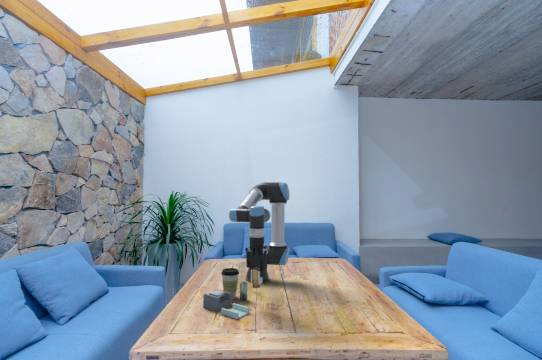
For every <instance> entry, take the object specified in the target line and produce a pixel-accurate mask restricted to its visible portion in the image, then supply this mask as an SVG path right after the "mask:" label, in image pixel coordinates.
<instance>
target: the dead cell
mask: <svg viewBox="0 0 542 360" xmlns="http://www.w3.org/2000/svg"><path fill="white" fill-rule="evenodd" d="M239 301H240V302H247V301H248V281H247V282H246V281H242V282H239Z"/></svg>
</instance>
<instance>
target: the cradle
mask: <svg viewBox="0 0 542 360" xmlns="http://www.w3.org/2000/svg"><path fill="white" fill-rule="evenodd" d="M216 290H220V291H223V289H222V290H221V289H218V288H216V289H215V291H216ZM224 292H226V291H224ZM202 302H203V303H202V304H203V306H202V307H203V308H205V309H207V310H211V311H215V312H217V313H218V312H220V311H221V309H222V308H225V309H228V308H229V307H231V306H232V299H231V293H230V292H226V295H225V296H222V297H216V296H213V295H209V293H203V301H202Z"/></svg>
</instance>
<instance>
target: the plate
mask: <svg viewBox="0 0 542 360" xmlns="http://www.w3.org/2000/svg"><path fill="white" fill-rule="evenodd" d="M220 290H221V289H218V290H216V289H215V290H213V291H211V292H209V293H208V294H209V295H213V296H216V297H222V296H225V295H226V292H224V291H223V290H222V291H220Z"/></svg>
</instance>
